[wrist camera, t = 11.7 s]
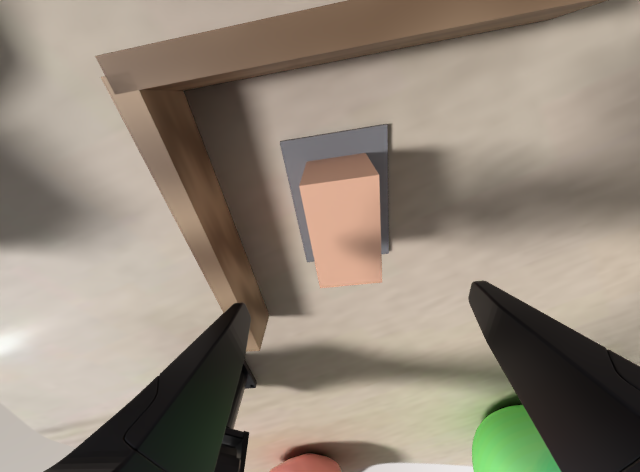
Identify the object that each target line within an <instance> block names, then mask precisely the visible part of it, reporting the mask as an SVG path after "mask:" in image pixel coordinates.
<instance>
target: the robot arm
mask: <svg viewBox="0 0 640 472" xmlns="http://www.w3.org/2000/svg"><path fill="white" fill-rule="evenodd" d="M469 303H470V306H471V308H472V310H473V312H474V315H475V317H476V319H477V321H478V324H479V326H480V328H481V330H482V333H483V335H484V337H485V339H486V341H487V343H488V345H489V347H490V349H491V350H492V352H493V354H494V356H495V357H496V359H497V361H498V363H499V364H500V366H501V368H502V370H503V371H504V373H505V375H506V376H507V378H508V380H509V382H510V383H511V385H512V387H513V389H514V390H515V392H516V394H517V396H518V397H519V399H520V401H521V403H522V404H523V406H524V408H525V410H526V411H527V413H528V415H529V417H530V418H531V420H532V422H533V423H534V425H535V427H536V429H537V430H538V432H539V434H540V436H541V437H542V439H543V441H544V443H545V444H546V446H547V448H548V450H549V451H550V453H551V455H552V457H553V458H554V460H555V462H556V464H557V465H558V467H559V469H560V470H561V472H640V366H638V365H636V364H634V363H632V362H630V361H629V360H627V359H625V358H623V357H621V356H619V355H618V354H616V353H614V352H612V351H611V350H607V349H606V348H605V347H603V346H601V345H600V344H598V343H596V342H594V341H592V340H591V339H589V338H587V337H585V336H583V335H582V334H580V333H578V332H576V331H574V330H573V329H571V328H569V327H567V326H566V325H564V324H562V323H560V322H558V321H557V320H555V319H553V318H551V317H549V316H548V315H546V314H544V313H542V312H540V311H539V310H537V309H535V308H533V307H531V306H530V305H528V304H526V303H524V302H522V301H521V300H519V299H517V298H515V297H513V296H512V295H510V294H508V293H506V292H504V291H503V290H501V289H499V288H497V287H496V286H494V285H492V284H490V283H488V282H486V281H475V282H473V283H472V284H471V289H470V293H469ZM250 323H251V316H250V313H249V311H248V309H247V307H246V305H245V303H243V302H241V303H234V304H233V305H232V306H231V307H230V308H228V309H227V310H226V311H225V312H224V313H223V314H222V315H221V316H220V317H219V318H218V319H217V320H216V321H215V322H214V323H213V324H212V325H211V326H210V327H209V328H208V329H207V330H205V331H204V332H203V333H202V334H201V335H200V336H199V337H198V338H197V339H196V340H195V341H194V342H193V343H192V344H191V345H190V346H189V347H188V348H187V349H186V350H185V351H183V352H182V353H181V354H180V355H179V356H178V357H177V358H176V359H175V360H174V361H173V362H172V363H171V364H170V365H169V366H168V367H167V368H166V369H165V370H164V371H163V372H161V373H160V375H159V376H157V377H156V378H155V379H154V380H153V381H152V382H151V383H150V384H149V385H148V386H147V387H146V388H145V389H143V390H142V391H141V392H140V393H139V394H138V395H137V396H136V397H135V398H134V399H133V400H131V401H130V402H129V403H128V404H127V405H126V406H125V407H123V408H122V409H121V410H120V411H119V412H118V413H117V414H116V415H114V416H113V417H112V418H111V419H110V420H108V421H107V422H106V423H105V424H104V425H103V426H101V427H100V428H99V429H98V430H97V431H96V432H94V433H93V434H92V435H91V436H90V437H89V438H87V439H86V440H85V441H84V442H83V443H82V444H80V445H79V446H78V447H77V448H76V449H74V450H73V451H72V452H71V453H70V454H69V455H67V456H66V457H65V458H63V459H62V460H61V461H59V462H58V463H56V464H55V465H54V466H52V467H51V468H49V469H47V470H45V471H44V472H244V467H245V460H246V452H247V445H248V438H249V432H246V431H244V432H242V431H238V430H234V429H233V428H234V425H235V421H236V418H237V414H238V411H239V407H240V403H241V400H242V396H243V393H244V389H246V388H255V387H256V384H257V383H256V381H255V379H254V377H253V375H252V373H251V371H250V369H249V368H248V366H247V364H246V362H245V360H244V358H245V354H246V348H247V342H248V335H249V329H250Z"/></svg>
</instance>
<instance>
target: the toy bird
mask: <svg viewBox="0 0 640 472" xmlns="http://www.w3.org/2000/svg"><path fill="white" fill-rule="evenodd" d="M472 462H473V469H474V472H561V470H560V469H559V467H558V465H557V464H556V462H555V460H554V458H553V457H552V455H551V453H550V451H549V450H548V448H547V446H546V444H545V443H544V441H543V439H542V437H541V436H540V434H539V432H538V430H537V429H536V427H535V425H534V423H533V422H532V420H531V418H530V417H529V415H528V413H527V411H526V410H525V408H524V406H523V405H515V406H509V407H505V408H502V409H499V410H497V411H495V412H493V413H491V414H490V415H489V416H487V417H486V418H485V419H484V420H483V421H482V422H481V424H480V425H479V427H478V428H477V430H476V433H475V436H474V439H473V445H472Z"/></svg>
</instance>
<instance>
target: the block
mask: <svg viewBox="0 0 640 472" xmlns="http://www.w3.org/2000/svg"><path fill="white" fill-rule="evenodd" d="M299 188H300V193H301V197H302V202H303V207H304V212H305V217H306V222H307V227H308V231H309V236H310V241H311V246H312V251H313V256H314V261H315V266H316V270H317V275H318V280H319V285H320V288H327V287H338V286H348V285H359V284H369V283H380V282H382V259H381V222H380V185H379V174H378V172H377V170H376V169H375V167H374V166H373V164H372V162H371V161H370V159H369V158H368V156H367V154H366V153H361V154H354V155H347V156H341V157H334V158H327V159H321V160H314V161H307V162H306V166H305V169H304V172H303V175H302V178H301V182H300V185H299Z"/></svg>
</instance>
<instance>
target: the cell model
mask: <svg viewBox="0 0 640 472" xmlns="http://www.w3.org/2000/svg"><path fill="white" fill-rule="evenodd" d="M269 472H342V471H341V468H340V466H339V465H338V463H337V462H336V461H334V460H333V459H331V458H329V457H327V456H324V455H320V454H315V453H308V454H302V455H300V456H297V457H293V458H290V459H288V460H286V461H285V462H283V463H281V464H279V465H277V466H276V467H274V468H272V469H271V470H270V471H269Z"/></svg>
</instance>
